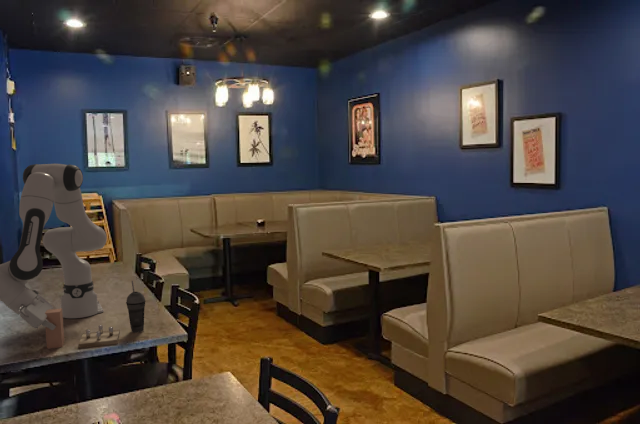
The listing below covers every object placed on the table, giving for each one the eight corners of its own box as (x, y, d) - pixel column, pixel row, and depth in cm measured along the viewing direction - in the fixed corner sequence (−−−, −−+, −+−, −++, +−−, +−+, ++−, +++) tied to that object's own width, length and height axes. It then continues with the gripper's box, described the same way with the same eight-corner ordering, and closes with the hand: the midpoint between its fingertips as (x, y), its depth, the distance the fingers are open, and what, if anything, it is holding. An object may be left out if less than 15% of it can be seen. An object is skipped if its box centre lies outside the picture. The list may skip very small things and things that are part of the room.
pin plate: (83, 337, 200) (82, 325, 200) (119, 333, 204) (119, 321, 204) (78, 348, 188) (77, 336, 188) (117, 343, 192) (116, 331, 191)
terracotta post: (49, 344, 193) (47, 309, 192) (64, 342, 195) (62, 308, 194) (47, 348, 188) (44, 313, 187) (62, 346, 190) (59, 311, 189)
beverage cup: (138, 334, 202) (135, 283, 200) (123, 332, 204) (120, 282, 203) (151, 328, 209) (148, 279, 207) (136, 327, 211) (133, 278, 209)
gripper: (23, 302, 178) (57, 327, 182) (36, 289, 197) (67, 311, 201) (10, 316, 177) (44, 341, 181) (24, 302, 196) (55, 324, 200)
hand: (56, 325), depth 191 cm, fingers open, 5 cm apart
